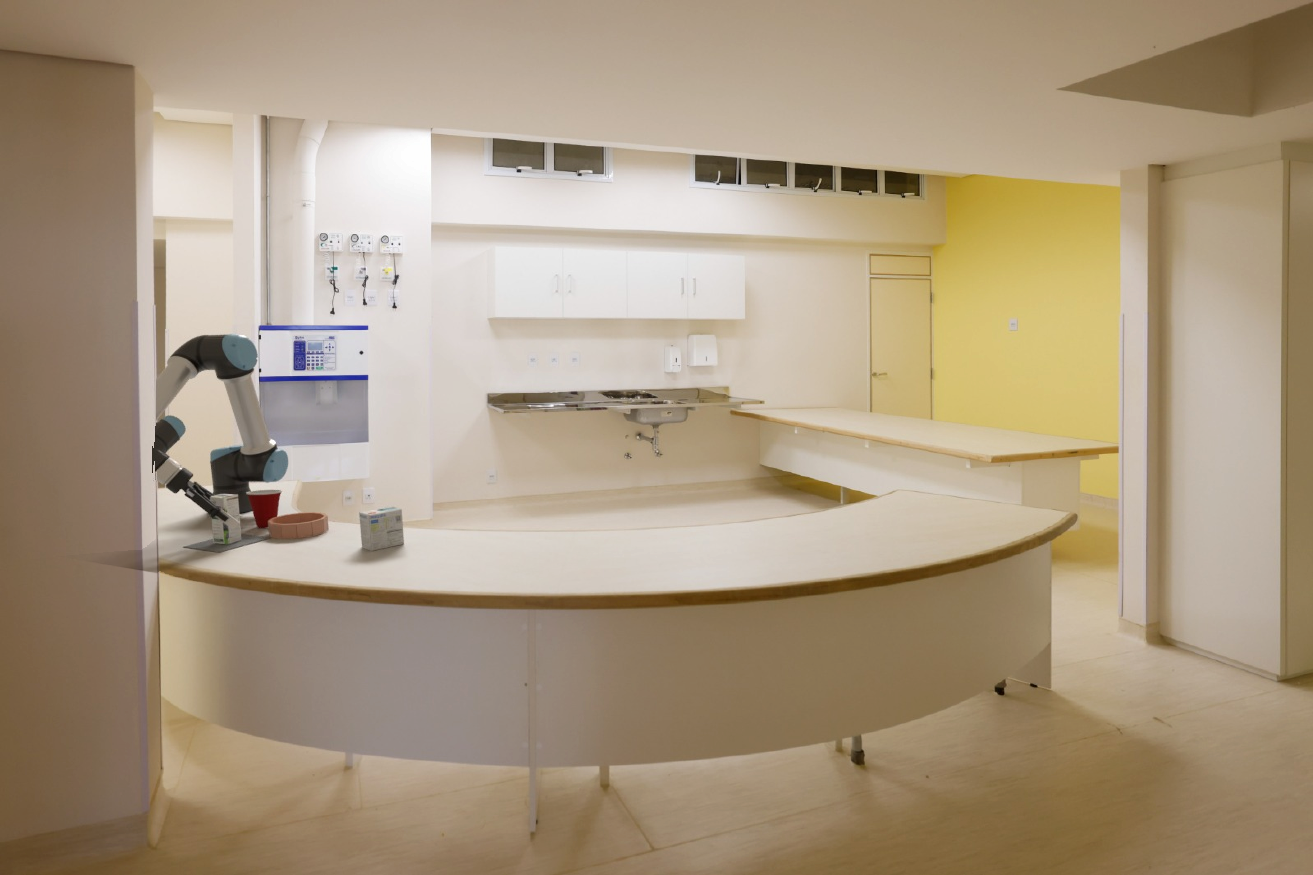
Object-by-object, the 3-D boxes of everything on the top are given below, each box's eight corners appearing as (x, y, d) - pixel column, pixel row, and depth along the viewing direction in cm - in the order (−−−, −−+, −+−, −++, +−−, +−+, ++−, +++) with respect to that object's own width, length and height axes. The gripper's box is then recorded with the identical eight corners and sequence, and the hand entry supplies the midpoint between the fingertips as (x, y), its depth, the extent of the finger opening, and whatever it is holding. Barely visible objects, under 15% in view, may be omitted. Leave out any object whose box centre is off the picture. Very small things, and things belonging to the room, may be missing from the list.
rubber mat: (235, 533, 274) (235, 532, 274) (271, 538, 267) (271, 537, 267) (183, 547, 258) (183, 546, 258) (219, 552, 251) (219, 551, 251)
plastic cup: (291, 522, 288) (288, 487, 286) (274, 530, 277) (270, 493, 276) (260, 522, 289) (257, 487, 287) (242, 530, 278) (238, 493, 277)
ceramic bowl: (301, 523, 285) (300, 510, 284) (339, 528, 278) (338, 514, 277) (257, 535, 270) (256, 521, 269) (296, 540, 262) (295, 526, 262)
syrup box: (212, 543, 260) (208, 496, 258) (228, 539, 266) (224, 492, 264) (227, 545, 258) (222, 497, 256) (242, 540, 264) (238, 493, 262)
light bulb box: (394, 540, 260) (391, 505, 259) (405, 544, 256) (402, 508, 254) (360, 547, 253) (358, 511, 252) (371, 551, 248) (368, 515, 247)
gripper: (169, 479, 264) (231, 524, 272) (158, 492, 244) (226, 540, 252) (186, 461, 265) (248, 506, 273) (178, 472, 245) (244, 520, 253)
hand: (237, 522), depth 263 cm, fingers open, 9 cm apart
